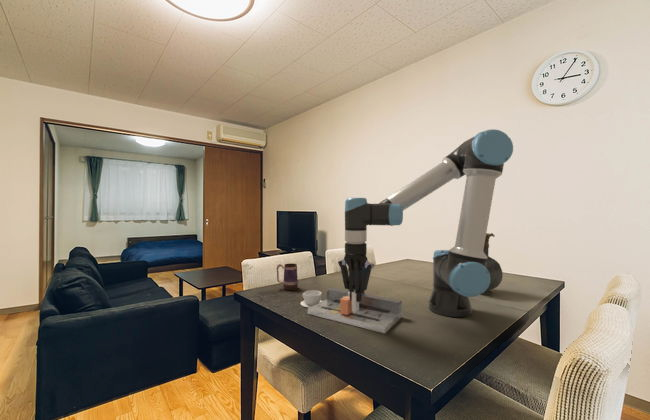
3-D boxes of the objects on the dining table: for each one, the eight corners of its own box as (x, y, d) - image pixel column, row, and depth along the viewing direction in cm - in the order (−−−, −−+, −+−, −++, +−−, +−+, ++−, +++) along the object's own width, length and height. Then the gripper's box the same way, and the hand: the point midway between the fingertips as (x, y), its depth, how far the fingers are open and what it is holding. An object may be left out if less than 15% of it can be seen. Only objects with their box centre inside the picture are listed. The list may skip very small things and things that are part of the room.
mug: (297, 286, 144) (297, 262, 144) (298, 290, 137) (298, 265, 137) (277, 287, 142) (276, 262, 142) (276, 291, 135) (276, 265, 135)
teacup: (329, 303, 119) (329, 291, 119) (315, 310, 111) (315, 298, 111) (309, 298, 125) (309, 288, 125) (295, 305, 116) (295, 294, 116)
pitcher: (487, 299, 124) (487, 229, 123) (454, 287, 142) (454, 226, 141) (506, 296, 127) (507, 228, 126) (472, 285, 145) (472, 225, 145)
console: (401, 317, 103) (401, 300, 103) (384, 333, 90) (384, 314, 90) (330, 301, 120) (330, 287, 120) (307, 313, 107) (307, 297, 107)
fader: (353, 311, 103) (353, 296, 103) (347, 315, 99) (347, 299, 99) (346, 309, 105) (346, 295, 105) (339, 313, 101) (339, 298, 101)
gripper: (377, 242, 99) (377, 310, 100) (344, 240, 107) (344, 303, 107) (368, 244, 93) (368, 317, 93) (333, 242, 100) (333, 309, 101)
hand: (355, 310), depth 100 cm, fingers closed
